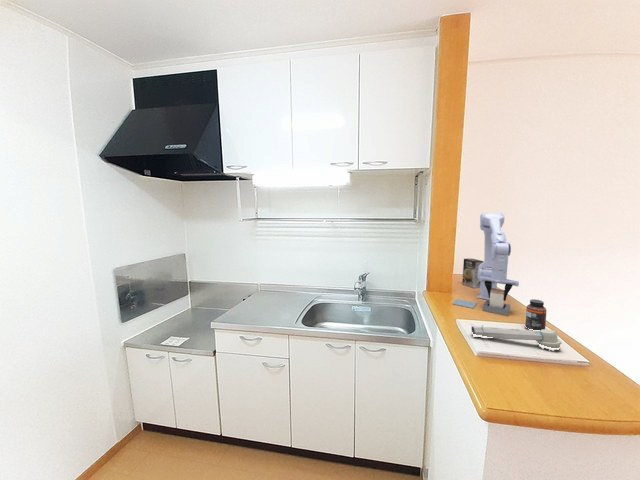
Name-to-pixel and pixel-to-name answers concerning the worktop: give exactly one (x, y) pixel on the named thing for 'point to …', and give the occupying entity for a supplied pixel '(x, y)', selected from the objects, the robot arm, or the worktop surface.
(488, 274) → the robot arm
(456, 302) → the rubber mat
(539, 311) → the supplement bottle
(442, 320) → the worktop surface
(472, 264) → the coffee box
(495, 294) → the beige pink box
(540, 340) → the angled head flashlight
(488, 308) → the frame
